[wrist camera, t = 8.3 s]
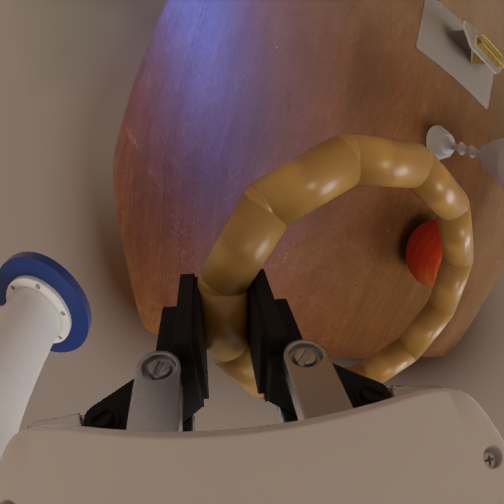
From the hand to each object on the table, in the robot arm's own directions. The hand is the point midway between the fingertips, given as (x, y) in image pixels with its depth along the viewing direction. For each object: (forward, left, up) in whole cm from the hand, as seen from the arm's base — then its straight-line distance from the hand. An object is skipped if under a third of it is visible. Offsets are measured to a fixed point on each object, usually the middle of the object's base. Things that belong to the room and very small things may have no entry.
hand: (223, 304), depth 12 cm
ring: (+6, 0, +1) cm, 6 cm away
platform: (+37, +22, -22) cm, 48 cm away
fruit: (+30, -9, -22) cm, 38 cm away
